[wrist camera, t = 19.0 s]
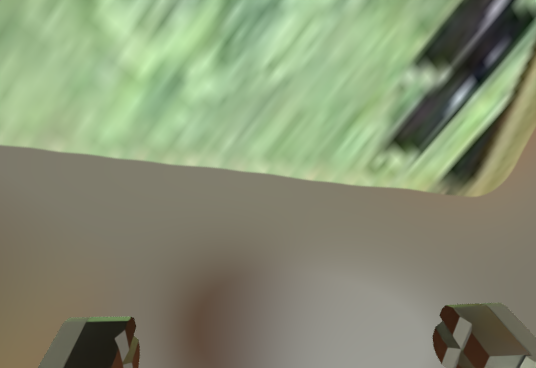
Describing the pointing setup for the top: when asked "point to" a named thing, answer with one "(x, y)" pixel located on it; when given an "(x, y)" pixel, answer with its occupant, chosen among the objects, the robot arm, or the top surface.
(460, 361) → the robot arm
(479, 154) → the top surface
